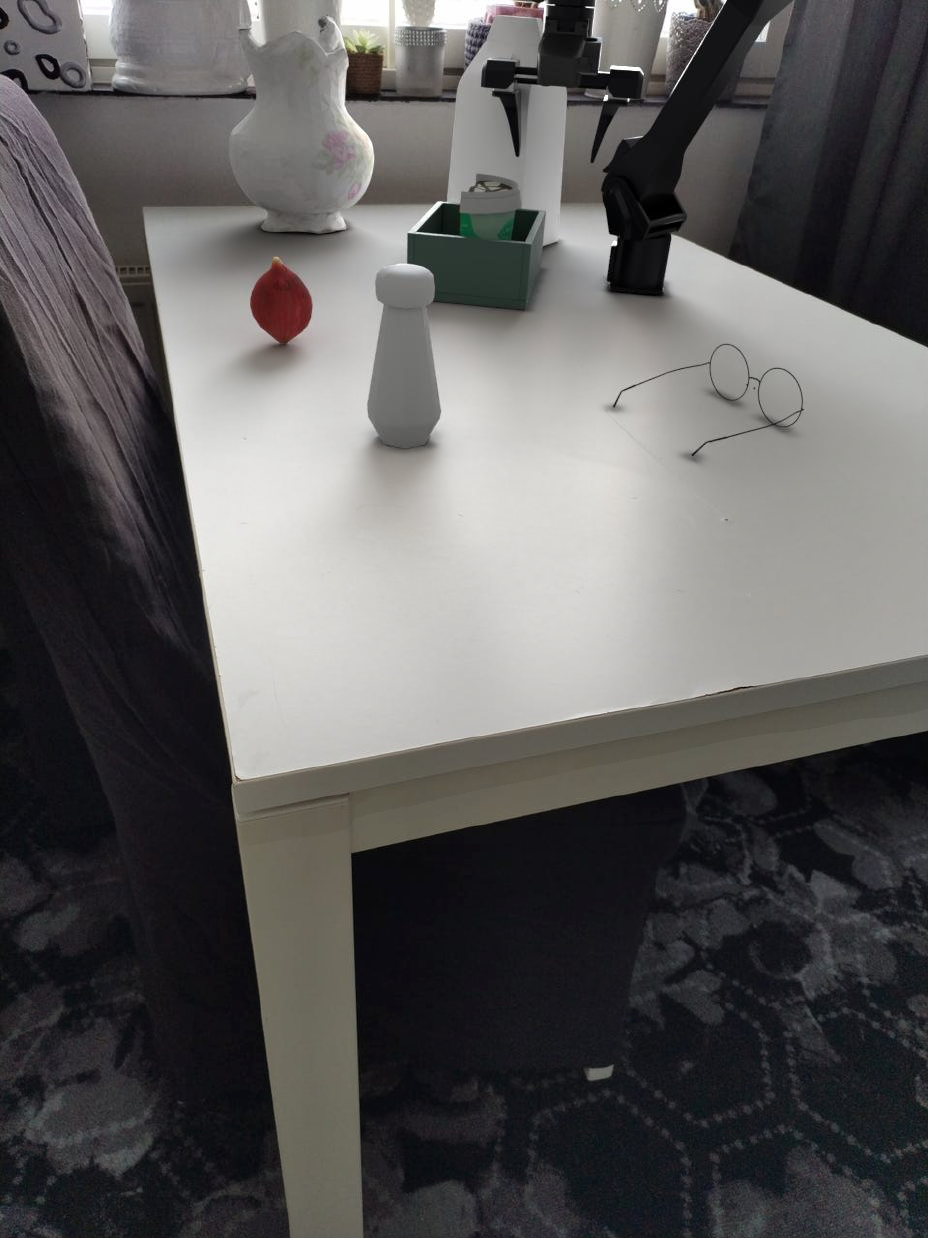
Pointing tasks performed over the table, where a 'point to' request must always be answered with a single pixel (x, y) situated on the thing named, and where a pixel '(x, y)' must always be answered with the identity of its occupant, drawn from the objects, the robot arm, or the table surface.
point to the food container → (489, 208)
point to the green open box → (478, 258)
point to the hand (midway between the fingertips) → (554, 159)
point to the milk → (487, 132)
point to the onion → (281, 303)
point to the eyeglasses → (729, 399)
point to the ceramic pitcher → (300, 132)
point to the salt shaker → (404, 359)
